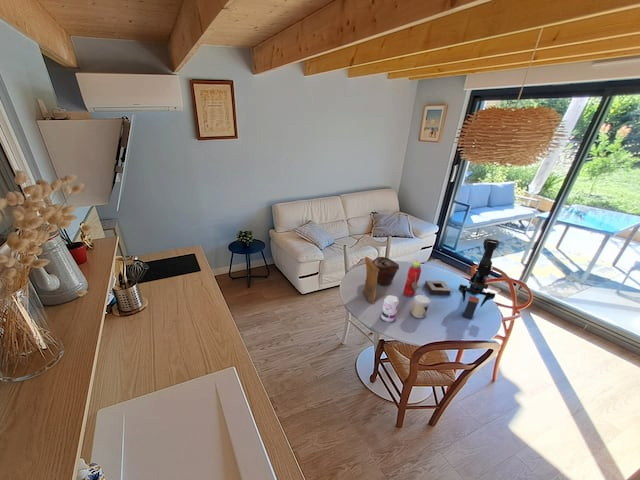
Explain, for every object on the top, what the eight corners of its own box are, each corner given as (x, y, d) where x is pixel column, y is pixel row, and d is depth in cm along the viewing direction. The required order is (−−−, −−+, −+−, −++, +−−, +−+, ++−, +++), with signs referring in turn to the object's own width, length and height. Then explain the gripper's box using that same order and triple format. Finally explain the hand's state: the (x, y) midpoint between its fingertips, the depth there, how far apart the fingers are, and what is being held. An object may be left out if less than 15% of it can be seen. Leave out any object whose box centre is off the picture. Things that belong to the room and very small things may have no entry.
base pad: (442, 285, 209) (443, 281, 207) (449, 295, 198) (451, 290, 196) (424, 285, 210) (425, 280, 208) (430, 294, 199) (432, 290, 197)
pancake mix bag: (367, 304, 189) (373, 268, 175) (359, 289, 206) (364, 254, 192) (377, 304, 189) (384, 268, 176) (368, 288, 206) (374, 254, 192)
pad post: (463, 312, 181) (469, 295, 175) (472, 315, 179) (479, 298, 172) (462, 316, 178) (469, 299, 171) (471, 319, 175) (478, 302, 169)
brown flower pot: (373, 272, 226) (376, 252, 218) (398, 279, 216) (403, 259, 207) (364, 282, 214) (368, 261, 205) (391, 290, 204) (396, 268, 195)
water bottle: (416, 301, 192) (425, 269, 180) (404, 299, 194) (412, 267, 182) (413, 291, 202) (422, 260, 190) (401, 290, 204) (409, 259, 192)
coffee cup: (424, 320, 174) (429, 305, 168) (408, 315, 179) (412, 300, 173) (426, 312, 181) (431, 297, 175) (411, 308, 186) (415, 293, 180)
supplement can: (394, 315, 179) (399, 295, 172) (394, 323, 172) (399, 303, 165) (381, 312, 182) (385, 293, 174) (380, 320, 175) (384, 301, 167)
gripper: (464, 272, 175) (456, 296, 173) (500, 282, 165) (492, 306, 163) (462, 278, 184) (454, 300, 182) (496, 287, 175) (489, 310, 172)
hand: (472, 304), depth 175 cm, fingers open, 9 cm apart
